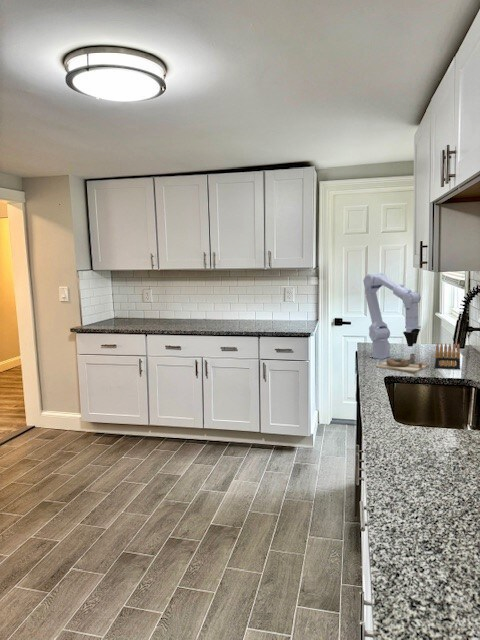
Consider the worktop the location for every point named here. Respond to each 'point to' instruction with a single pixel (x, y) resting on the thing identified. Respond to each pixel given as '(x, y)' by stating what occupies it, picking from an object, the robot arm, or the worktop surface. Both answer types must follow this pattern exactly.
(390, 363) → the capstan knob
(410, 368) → the board
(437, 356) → the ammunition clip
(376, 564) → the worktop surface
